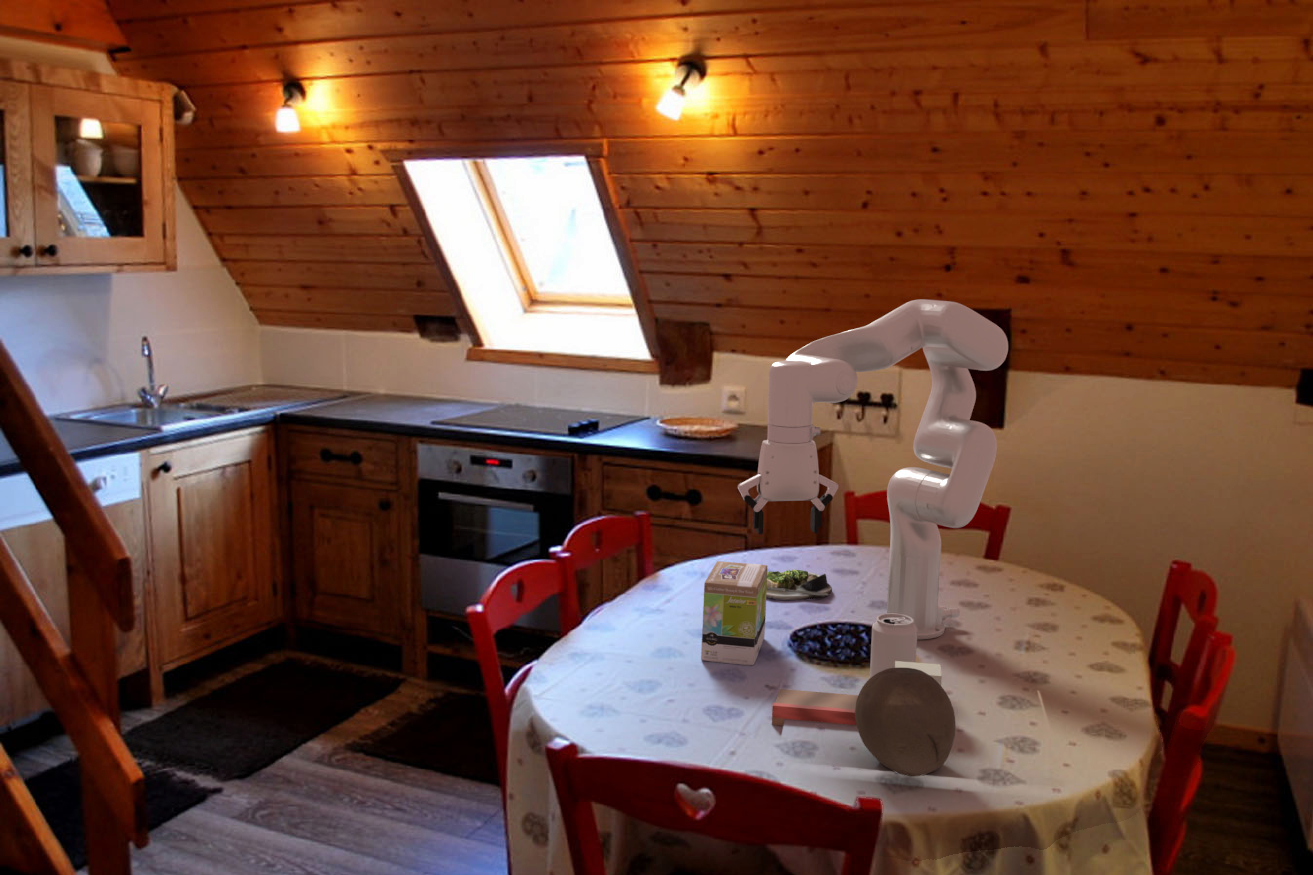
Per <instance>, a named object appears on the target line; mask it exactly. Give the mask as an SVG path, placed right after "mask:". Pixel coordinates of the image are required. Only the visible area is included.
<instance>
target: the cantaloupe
mask: <svg viewBox="0 0 1313 875" xmlns="http://www.w3.org/2000/svg"><path fill="white" fill-rule="evenodd" d="M952 704H953V703H952V702H951V699H950V697H949V695H948V693H947V691H946V690H944V688H943V687H942V684H941V685H940V684H939V683H938V682H937V681H936V680H935V679H934V678H933V677H931V676H930V675H928V674H927V673H925V672H923V671H921V670H917V669H913V668H889V669H885V670H883V671H881V672H879V673H877V674H875V675H874V676H872V677H871V678H870V677H869V679H868V680H866V682H865V683H864V685H863V686H862V688H861V689H860V691H859V694H858V698H857V700H856V708H855V719H856V724H857V725H856V728H857V730H858V734H859V737H860V739H861V742H862V744H863V745H864V747H865V748H866V749H867V750H868V751H869V753H871V755H872V756H873V758H875V759H876V760H877V761H878V762H879V764H882V765H883V766H884V767H886V768H887V769H889V770H891V771H893V772H895V773H897V774H900V775H902V776H907V777H913V778H914V777H920V776H925V775H928V774H930V773H933V772H934V771H937V770H938V769H939V768H941V767H942V766H943V765H944V764H945V763H946V761H947V760H948V758H949V756H950V754H951V751H952V747H953V745H954V744H953V743H954V740H955V735H956V717H955V710H954V707H953V705H952Z"/></svg>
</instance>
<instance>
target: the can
mask: <svg viewBox="0 0 1313 875" xmlns="http://www.w3.org/2000/svg"><path fill="white" fill-rule="evenodd" d="M875 619H876V621H875V622H874V623H873V624H872V626H871V644H870V665H869V679H870V678H871V677H872V676H874V675H875V674H877V673H879V672H881V671H883V670H885V669H889V668H895V661H902V662H915V663H917V646H918V645H917V644H918V639H917V627H916V626H915V625H914V624H913V623H914V620H913V619H912V618H911V617H909V616H907V615H903V614H896V613H887V612H886V613H882V614H880V615H878V616H876V618H875Z"/></svg>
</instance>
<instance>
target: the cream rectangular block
mask: <svg viewBox="0 0 1313 875" xmlns="http://www.w3.org/2000/svg"><path fill="white" fill-rule="evenodd" d="M941 667H942V665H941V664H938V663H937V664H936V663H928V662H927V663H926V662H925V663H924V662H916V663H915V662H902V661H895V668H913V669H917V670H921V671H923V672H925V673H927V674H928V675H930V676H931V677H933V678H934V679H935V680H936V681H937V682H938V683H939V684H940V685H941V686H942V680H943V679H942V668H941Z"/></svg>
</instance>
